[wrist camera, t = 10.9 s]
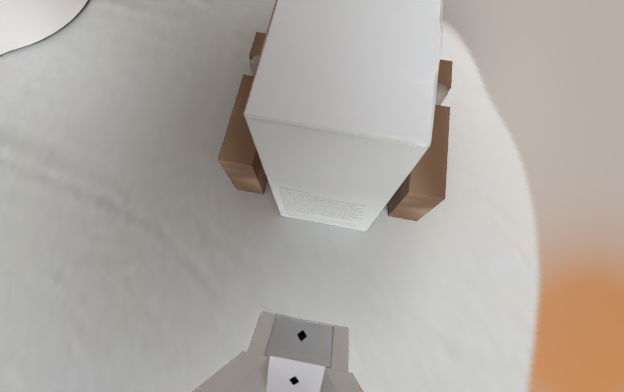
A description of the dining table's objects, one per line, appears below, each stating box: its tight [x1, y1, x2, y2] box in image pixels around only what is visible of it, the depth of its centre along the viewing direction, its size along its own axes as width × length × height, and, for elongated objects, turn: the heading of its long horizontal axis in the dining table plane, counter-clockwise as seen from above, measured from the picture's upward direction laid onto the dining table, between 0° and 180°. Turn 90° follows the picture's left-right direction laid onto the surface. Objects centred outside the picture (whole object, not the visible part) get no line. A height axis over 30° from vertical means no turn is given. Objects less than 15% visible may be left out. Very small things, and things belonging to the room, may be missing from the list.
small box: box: [243, 0, 443, 231], centre depth 18 cm, size 8×6×13 cm
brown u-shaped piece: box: [218, 32, 452, 221], centre depth 22 cm, size 13×10×6 cm
